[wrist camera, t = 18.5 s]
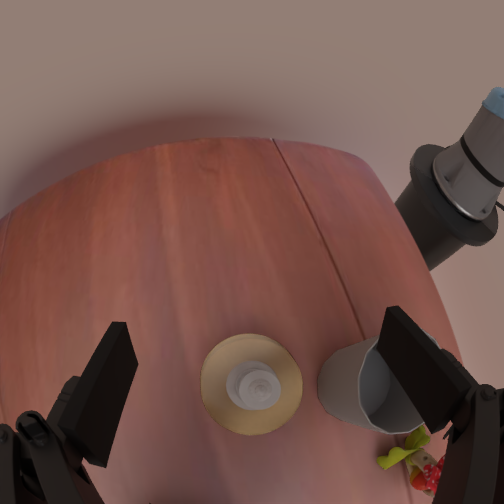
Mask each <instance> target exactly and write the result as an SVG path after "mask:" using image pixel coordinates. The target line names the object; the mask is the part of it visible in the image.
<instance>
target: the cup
mask: <svg viewBox="0 0 504 504" xmlns="http://www.w3.org/2000/svg"><path fill="white" fill-rule="evenodd" d="M422 330H423V329H422ZM423 331H424V330H423ZM424 333H425V334H426V335H427V336H428V337H429V338H430V339H431V340H432V341H433V342H434V343H435V344H436V345H437V346H438V348H439V349H440V347H439V345H438V343H437V341H436V339H435V338H433V337H432V336H431V335H429V334H428V333H427V332H425V331H424ZM379 336H380V335H377V336H374V337H372V338H369V339H367V340H364V341H361V342H358V343H356V344H353V345H350V346H348V347H345V348H342V349H339V350H337V351H335V352H334V353H333V354H332V355H331V356H330V357H329V358H328V359H327V360H326V361H325V362H324V364H323V366H322V369H321V372H320V374H319V377H318V379H317V385H318V398H319V400H320V402H321V403H322V405H323V407H324V408H325V410H326V412H328V413H329V414H331V415H333V416H334V417H336V418H338V419H339V420H342V421H345V422H348V423H351V424H354V425H357V426H360V427H363V428H367V429H370V430H374V431H377V432H381V433H384V434H388V435H390V434H403V433H410V432H411V431H413V430H414V429H416V428H418V427H419V426H421V425H422V424H424V423H425V422H424V421H423V419H422V418H421V416H420V414H419V413H418V411H417V410H416V408H415V407H414V405H413V403H412V402H411V400H410V399H409V397H408V396H407V394H406V392H405V391H404V389H403V388H402V386H401V385H400V383H399V382H398V380H397V379H396V377H395V376H394V374H393V373H392V371H391V370H390V368H389V367H388V365H387V364H386V362H385V361H384V359H383V358H382V356H381V355H380V354H379V352H378V351H377V349H376V346H377V343H378V339H379Z"/></svg>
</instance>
